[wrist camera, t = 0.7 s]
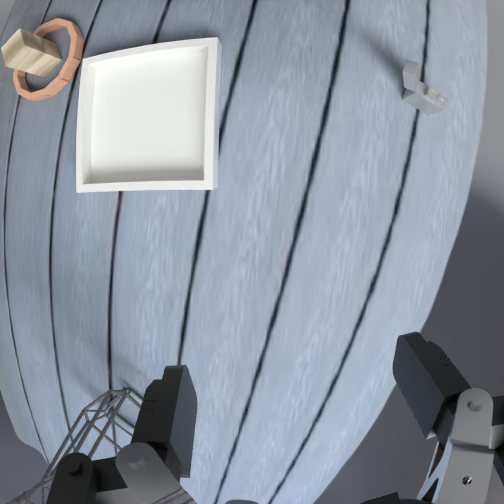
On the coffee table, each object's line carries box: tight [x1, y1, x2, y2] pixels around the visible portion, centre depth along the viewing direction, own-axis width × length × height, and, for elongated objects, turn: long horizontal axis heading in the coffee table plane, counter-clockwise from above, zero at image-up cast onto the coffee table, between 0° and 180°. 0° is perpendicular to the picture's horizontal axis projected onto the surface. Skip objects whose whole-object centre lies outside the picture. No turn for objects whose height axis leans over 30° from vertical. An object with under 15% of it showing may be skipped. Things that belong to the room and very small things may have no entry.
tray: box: [76, 37, 222, 193], centre depth 34 cm, size 18×18×3 cm
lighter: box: [402, 60, 447, 115], centre depth 29 cm, size 7×2×8 cm, turn 67°
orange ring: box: [13, 18, 84, 101], centre depth 33 cm, size 13×13×2 cm
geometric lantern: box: [6, 389, 143, 504], centre depth 31 cm, size 16×16×35 cm
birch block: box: [1, 28, 62, 77], centre depth 30 cm, size 4×4×9 cm
